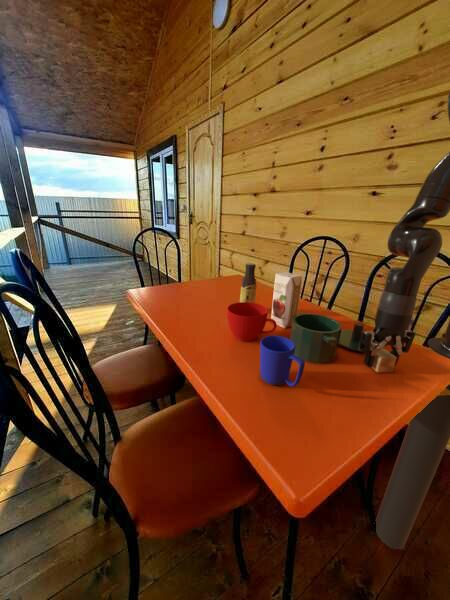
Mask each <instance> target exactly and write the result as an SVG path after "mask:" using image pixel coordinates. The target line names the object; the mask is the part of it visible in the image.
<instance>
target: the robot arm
mask: <svg viewBox="0 0 450 600" xmlns="http://www.w3.org/2000/svg"><path fill="white" fill-rule="evenodd" d="M446 105H447V107H446V109H447V118H448V122H449V124H450V91H449V92H448V96H447V104H446ZM449 213H450V151H448V153H446V154H445V156H443V157H442V158H441V159H440V160H439V161H438V162H437V163H436V164H435V165H434V167H433V168H431V170H430V172H429V173H427V176H426V177H425V178H424V181H423V183H422V184H421V187H420V189H419V190H418V193H417V194H416V197H415V199H414V201H413V203H412V205H411V206H410V208H409V209H408V210H407V211H406V212H405V213H404V214H403V216H402V217H401V218H400V219H399V221H398V222H397V223H396V225H394V227H393V228H392V229H391V231H390V233H389V236H388V238H387V242H386V243H387V245H386V246H387V250H388V251H389V253H390V254H392V255H393V256H397V257H401V258H407V261H406V262H405V264H404V265H402V266H393V267H391V268H389V270H388V271H387V274H386V277H385V281H384V285H383V290H382V292H381V295H380V298H379V301H378V305H377V308H376V313H375V317H374V328H373V329H372V330H365V329H363V331H362V333H361V340H360V350H362V351H363V352H362V353H363V354H364V359H363V363H364V365H365V366H366V367H367V368H372V365H373V362H374V358H375V356H374V355H375V354H376V353H377V352H378V350H381V349H384V347H387V346H389V347H390V349H391V350H390V351H389V352H390V353H391V354H393V355H394V356H396V357H397V358H396V362H395V365H394V367H396V366H397V364H398V363H399V359H400V356H401V355H402V354H403V353H405V354H407V353H409V351H410V349H411V347H412V345H413V342H414V339H415V337H416V332H414V331H413V330H411V329H409V328H410V324H411V321H412V318H413V314H414V310H415V307H416V303H417V297H418V293H419V290H420V286H421V283H422V280H423V278H424V277H425V275H426V273H427V272H428V270H429V268H430V266H431V265H432V264H433V262H434V261H435V259H436V258H437V256H438V255H439V253H440V252H441V249H442V246H443V236H442V234H441V232H440V230H438V229H435V228H433V227H425V226H426V224H428V223H429V222H433V221H436V220H441V219H444V218H446V216H448V214H449ZM441 338H443V340H442V341H441V346H442V347H443V348H444V349H446V350H447V351H450V319H448V323H447V326H446V329H445V332H444V333H442V335H441ZM375 342H377V343H379V344H378V345H377V344H375ZM373 347H374V348H373ZM372 348H373V350H371V349H372Z"/></svg>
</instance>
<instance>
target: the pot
mask: <svg viewBox="0 0 450 600" xmlns="http://www.w3.org/2000/svg"><path fill="white" fill-rule="evenodd" d="M298 312H299V311H298ZM341 330H343V327H342V324H341V323H340V322H339V321H338V320H337V319H334V318H333V317H330V316H327V315H322V314H319V313H307V312H304V311H303V312H301V311H300V312H299V313H298V314H297V315H296V316H294V317H293V318H292V326H290V335H289V339H290V340H291V341H293V342H294V344H295V351H294V355H296V356H297V357H299V358H300V359H302V360H303V361H304V362H309V363H313V364H327V363H330V362H333V361H335V359H336V357H337V353H338V349H339V346H340V345H339V340H340V335H341Z"/></svg>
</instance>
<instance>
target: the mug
mask: <svg viewBox="0 0 450 600" xmlns="http://www.w3.org/2000/svg"><path fill="white" fill-rule="evenodd" d="M259 344H260V345H259V346H260V349H259V350H260V352H259V353H260V354H259V355H260V357H259V358H260V361H259V362H260V365H259V367H260V368H259V369H260V370H259V371H260V372H259V373H260V376H261V379H262V380H263V381H264V382H265V383H266V384H268V385H273V386H282V385H284V384H285V383H286V384H287V385H288V386H289V387H296V386H297V385H298V384H299V383H300V382H301V379H302V377H303V373H304V371H305V365H306V361H304V360H302V359H300V358H299V357H297V356H296V355H294V351H295V344H294V342H293V341H291V340H290V338H287V337H285V336H281V335H268V336H267V335H266V336H264V337H263V338H261V340H260V343H259ZM293 361H295V362H296V363H297V364H298V365H299V366H298V370H297V374H296V378H295V380H294V382H293V381H291V379H290V378H289V376H290V373H291V368H292V364H293Z"/></svg>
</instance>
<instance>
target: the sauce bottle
mask: <svg viewBox="0 0 450 600" xmlns="http://www.w3.org/2000/svg"><path fill="white" fill-rule="evenodd" d="M256 267H257V266H256V263H252V262H246V263H245V272H244V276H243V277H242V279H241V285H240V295H239V302H250V303H256V293H257V280H256V275H255V271H256Z"/></svg>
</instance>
